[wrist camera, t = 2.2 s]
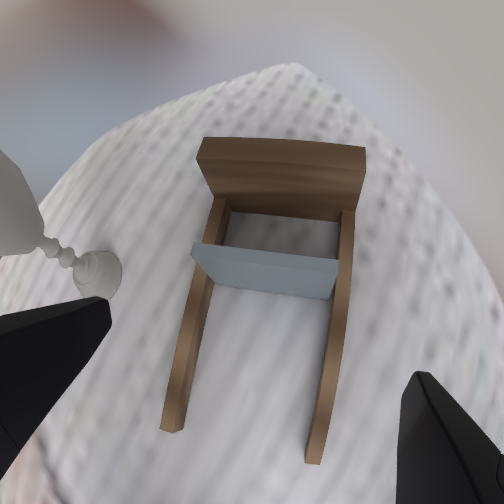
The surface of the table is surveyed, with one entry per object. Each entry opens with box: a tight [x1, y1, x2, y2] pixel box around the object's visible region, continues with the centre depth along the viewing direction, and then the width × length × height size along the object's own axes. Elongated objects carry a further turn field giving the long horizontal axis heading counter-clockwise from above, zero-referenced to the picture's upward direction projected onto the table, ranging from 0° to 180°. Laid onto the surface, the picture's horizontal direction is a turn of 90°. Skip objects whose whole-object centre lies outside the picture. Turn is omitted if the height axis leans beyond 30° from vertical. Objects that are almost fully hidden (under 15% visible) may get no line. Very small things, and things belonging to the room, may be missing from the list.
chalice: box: [0, 150, 122, 300], centre depth 17 cm, size 7×7×18 cm
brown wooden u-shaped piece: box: [160, 137, 366, 465], centre depth 19 cm, size 20×11×7 cm, turn 169°
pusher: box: [190, 242, 339, 300], centre depth 20 cm, size 1×8×6 cm, turn 79°
